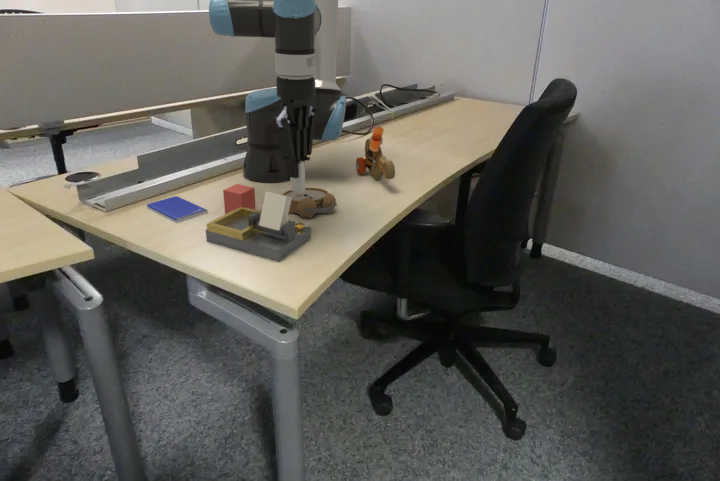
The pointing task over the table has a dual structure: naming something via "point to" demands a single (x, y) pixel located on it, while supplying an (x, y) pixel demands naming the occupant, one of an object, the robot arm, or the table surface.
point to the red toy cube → (239, 197)
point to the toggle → (274, 213)
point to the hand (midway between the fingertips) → (298, 190)
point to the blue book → (176, 209)
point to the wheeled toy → (375, 158)
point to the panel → (255, 234)
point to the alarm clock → (311, 202)
